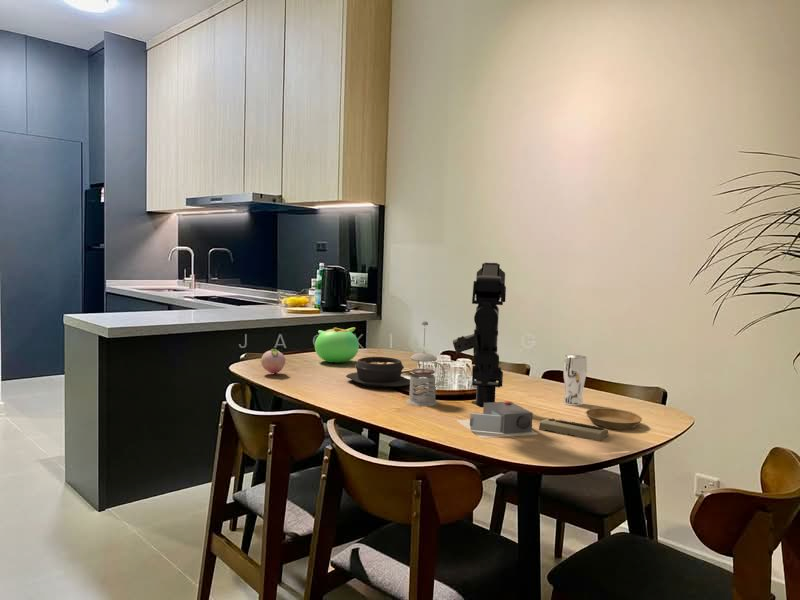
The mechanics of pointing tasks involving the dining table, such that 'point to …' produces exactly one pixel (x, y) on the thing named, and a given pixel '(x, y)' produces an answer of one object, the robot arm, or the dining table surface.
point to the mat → (492, 434)
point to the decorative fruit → (273, 361)
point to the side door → (486, 422)
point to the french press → (423, 380)
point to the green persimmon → (337, 345)
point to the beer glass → (574, 379)
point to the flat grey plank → (574, 429)
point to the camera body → (510, 416)
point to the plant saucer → (613, 418)
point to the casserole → (379, 372)
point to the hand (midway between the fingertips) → (484, 385)
